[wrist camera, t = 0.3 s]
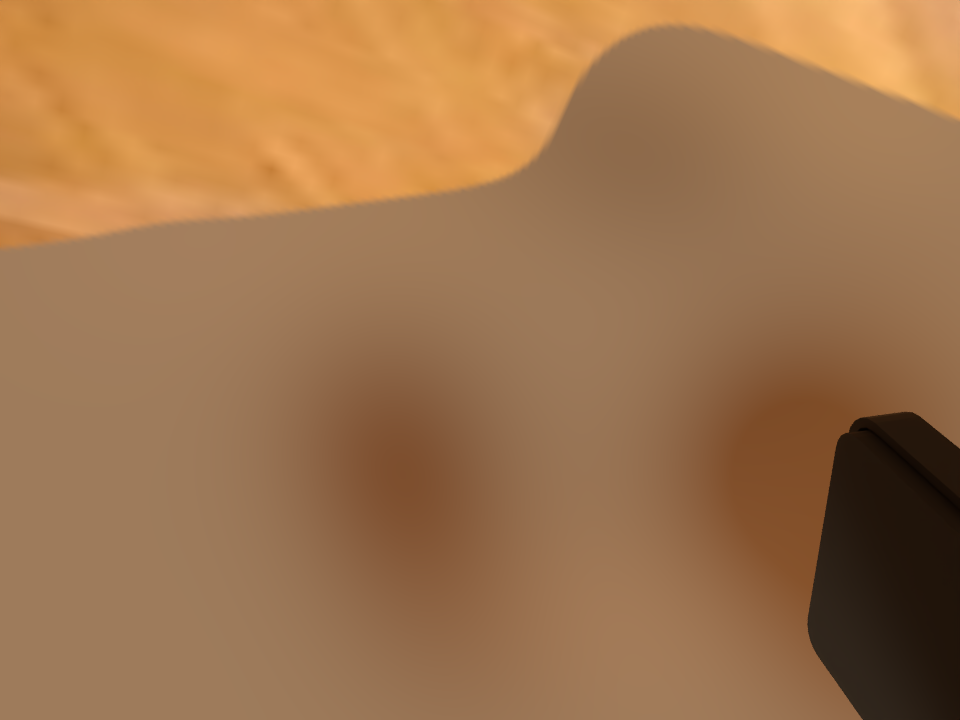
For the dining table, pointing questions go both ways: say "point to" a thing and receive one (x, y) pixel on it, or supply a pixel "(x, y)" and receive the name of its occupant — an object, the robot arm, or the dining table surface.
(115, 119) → the dining table surface
